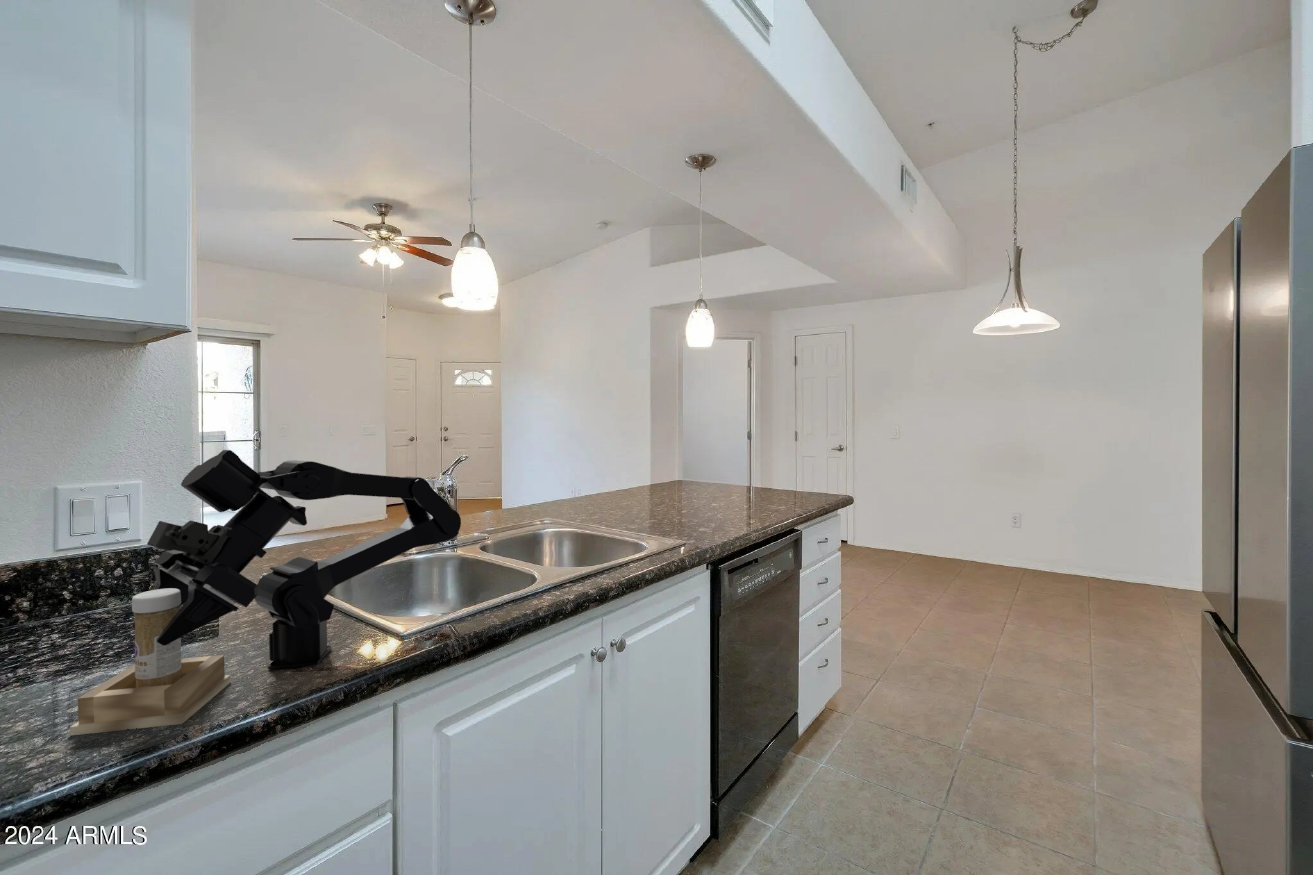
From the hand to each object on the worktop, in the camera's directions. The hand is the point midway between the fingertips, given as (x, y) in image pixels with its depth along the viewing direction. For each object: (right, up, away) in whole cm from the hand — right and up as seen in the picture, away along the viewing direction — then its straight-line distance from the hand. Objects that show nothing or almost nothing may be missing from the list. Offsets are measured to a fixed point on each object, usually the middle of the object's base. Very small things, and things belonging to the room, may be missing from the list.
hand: (147, 635), depth 69 cm
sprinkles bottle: (+1, -8, +1) cm, 8 cm away
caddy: (0, -9, +1) cm, 9 cm away
